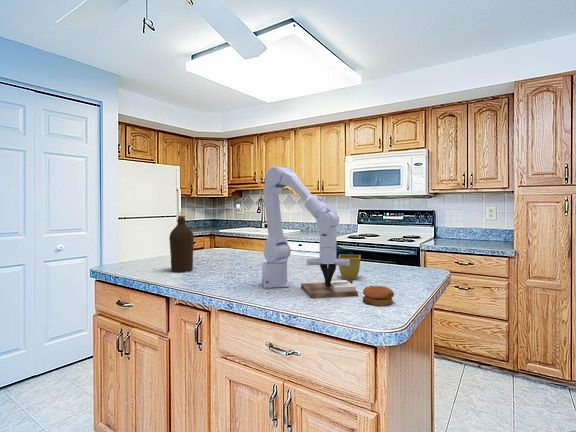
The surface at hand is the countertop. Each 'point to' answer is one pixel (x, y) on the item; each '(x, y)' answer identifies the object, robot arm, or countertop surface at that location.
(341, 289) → the cover
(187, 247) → the olive oil
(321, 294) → the board
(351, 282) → the wooden mallet
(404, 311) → the countertop surface
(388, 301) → the burger
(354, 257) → the flower pot
